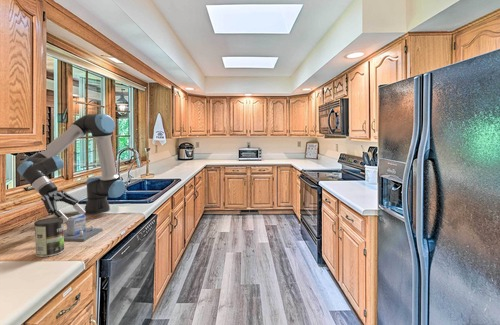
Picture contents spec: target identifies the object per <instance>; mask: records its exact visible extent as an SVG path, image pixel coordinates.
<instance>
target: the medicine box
mask: <svg viewBox="0 0 500 325" xmlns="http://www.w3.org/2000/svg"><path fill="white" fill-rule="evenodd" d="M67 218H68V220H67V221H66V222H65V223H66V229H67V235H77V234H79V233H80V231H83V232H84V231H86V228H87V226H86V223H87V222H86V214H85V213H84V214H79V213H78V214H76V215H72V216H69V217H67Z"/></svg>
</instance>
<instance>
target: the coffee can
mask: <svg viewBox="0 0 500 325" xmlns="http://www.w3.org/2000/svg"><path fill="white" fill-rule="evenodd" d="M33 223H34V224H33V225H34V236H35V237H34V238H35V239H34V240H35V255H36V257H39V258H49V257H54V256H58V255H60V254H62V253H64V252H63V251H65V241H64V223H63V218H58V217H47V218H41V219H38V220H35V221H34V222H33ZM57 254H58V255H57ZM53 255H54V256H53ZM48 256H49V257H48Z"/></svg>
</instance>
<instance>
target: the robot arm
mask: <svg viewBox="0 0 500 325" xmlns="http://www.w3.org/2000/svg"><path fill="white" fill-rule="evenodd" d="M115 128H116V123H115V120H114V119H113V117H111V116H110V115H108V114H106V113H95V114H94V113H93V114H88V113H87V114H86V115H83V116H81V117H79V118H77V119H76V120H75V121H73V123H71V124H70V125H69V128H67V129H66V130H65V131H64V132H63V133H62V132H61V134H60V135H58V137H56V138H55V139H53V140H52V141H51V142H50V143H49V144H47V145H46V146H47V150H45V151H41V150H40V151H41V152H40V151H38V152H37V153H35V154H34V155H33V156H28V157H26V158H24V159H23V161H22V163H21V164H20V165H18V167H17V169H16V171H17V172H18V173H19V175H20V176H21V177H22V178H23V179H24V180H25V181H26V182H27V183H28V184H29V185H30V186H32V188H33V189H34V190H35V191H36V192H38V194H39V195H40V196H41V198H40V200H41V201H42V202H43V205H44V207H45V209H46V212H47V214H48V215H49V214H50V215H54V216H55V217H56V218H63V224H65V223H67V222H66V221H67V220H68V218H69V217H67V215H66V214H64V213H63V212H62V210H60V209H58V205H57V202H63V203H65V204H68V205H70V206H72V208H74V210H75V211H76V212H77V213H78V214H84V215H85V214H86V213H87V214H98V213H105V212H108V211H110V210H111V207H110V204H109V201H108V198H113V199H114V198H116V199H117V198H119V197H121V196H122V195H123V194H124V192H125V189H126V183H125V182H124V181H123V180H121V177H120V174H118V173H117V169H116V163H115V156H114V150H113V144H112V138H111V137H112V136H113V132H114V131H115ZM87 134H91V137H92V138H93V139H94V140H95V145H96V149H97V156H98V162H99V165H100V171H101V176H93V177H88V178H87V179H86V198H87V200H86V203H85V206H84V208H83V207H82V206H81V205H80V204H79V202H80V200H79V199H78V198H76V197H74V196H72V195H70V194H69V193H67V191H65V190H63V189H62V190H61V191H60V190H58V186H57V185H56V184H54V182H53V181H52V180H51V179H50V178H49V177H47V176H48V175H50V174H53V173H54V172H57V171H59V170H61V169H63V168H64V166H65V164H64V163H65V162H64V160H63V159H62V158H61V157H60V156H59V155H60V154H61V153H63V151H65V150H66V149H67V148H69V146H71V145H72V144H73V143H74V142H76V141H77V140H78V139H79V138H83V137H84V136H86V135H87Z"/></svg>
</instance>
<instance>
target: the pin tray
mask: <svg viewBox="0 0 500 325" xmlns="http://www.w3.org/2000/svg"><path fill="white" fill-rule="evenodd" d="M63 231H64V242H66V241H67V242H86V241H87V240H89V239H91V238H92V237H93V238H94V237H95V236H96V235H98V234H100V233H101V232H103V231H104V229H103V228H98V227H97V228H95V227H94V225H90V227H86V231H84V232H83V231H80V233H79V234H77V235H67V228H66V229H65V230H64V229H63Z"/></svg>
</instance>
